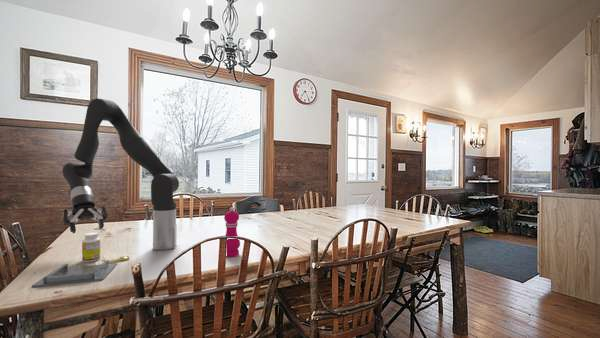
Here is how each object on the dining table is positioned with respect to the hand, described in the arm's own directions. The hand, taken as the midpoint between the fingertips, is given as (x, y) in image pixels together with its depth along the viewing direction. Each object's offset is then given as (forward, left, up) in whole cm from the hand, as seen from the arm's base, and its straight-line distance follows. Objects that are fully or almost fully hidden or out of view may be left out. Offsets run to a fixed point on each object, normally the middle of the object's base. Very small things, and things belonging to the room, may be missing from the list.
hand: (88, 230), depth 107 cm
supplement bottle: (-3, +5, -11) cm, 12 cm away
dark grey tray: (-5, +20, -11) cm, 24 cm away
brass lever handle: (-13, +9, -11) cm, 19 cm away
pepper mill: (-55, +13, -11) cm, 58 cm away
